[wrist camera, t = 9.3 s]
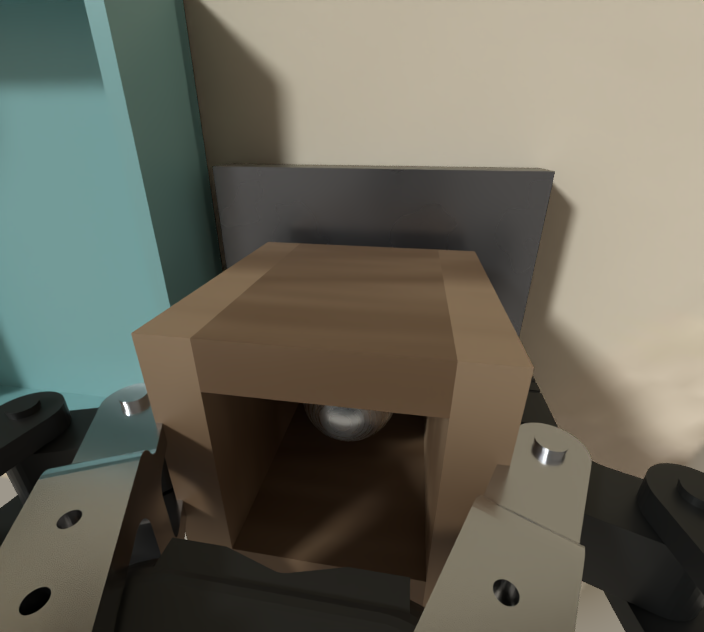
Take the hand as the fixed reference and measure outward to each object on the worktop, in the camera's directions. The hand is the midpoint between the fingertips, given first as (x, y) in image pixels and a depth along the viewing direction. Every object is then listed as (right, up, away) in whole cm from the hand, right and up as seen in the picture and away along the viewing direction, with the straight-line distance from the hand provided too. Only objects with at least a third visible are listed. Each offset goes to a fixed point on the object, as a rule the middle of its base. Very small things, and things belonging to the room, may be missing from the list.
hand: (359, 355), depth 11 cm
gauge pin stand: (+1, +2, +3) cm, 4 cm away
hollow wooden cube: (0, 0, +1) cm, 1 cm away
